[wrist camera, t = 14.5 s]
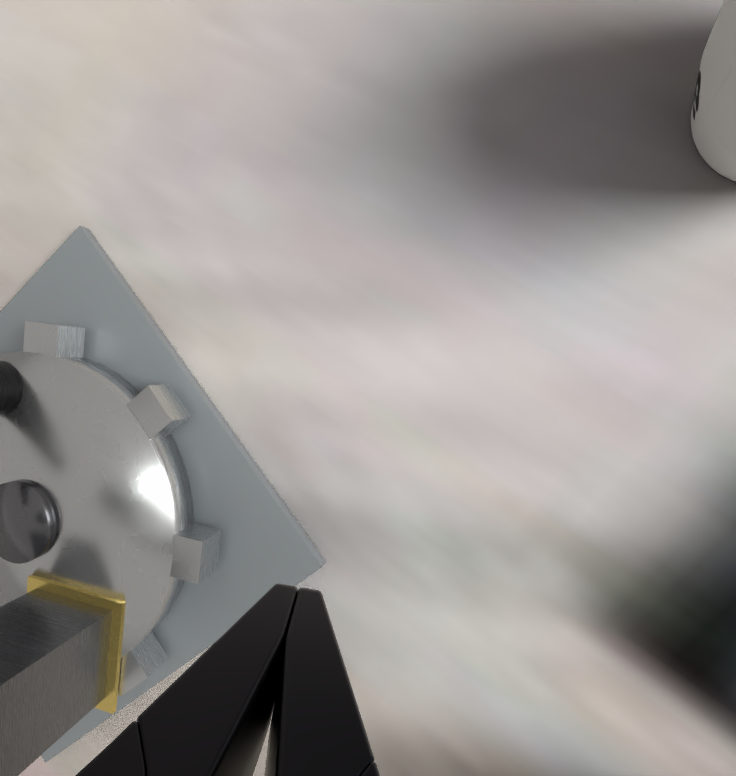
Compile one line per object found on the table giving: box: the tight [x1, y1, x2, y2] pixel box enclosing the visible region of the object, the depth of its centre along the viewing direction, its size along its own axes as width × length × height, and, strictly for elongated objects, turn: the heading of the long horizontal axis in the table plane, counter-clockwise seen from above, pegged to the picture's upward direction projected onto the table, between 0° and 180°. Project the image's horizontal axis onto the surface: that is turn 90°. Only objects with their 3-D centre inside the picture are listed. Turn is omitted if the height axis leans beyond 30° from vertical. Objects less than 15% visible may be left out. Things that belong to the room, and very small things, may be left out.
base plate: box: [0, 226, 326, 762], centre depth 23 cm, size 19×19×1 cm
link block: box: [0, 588, 112, 776], centre depth 18 cm, size 4×4×5 cm
